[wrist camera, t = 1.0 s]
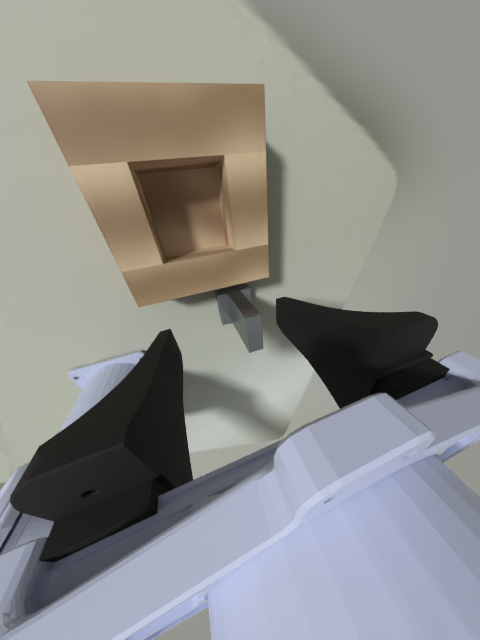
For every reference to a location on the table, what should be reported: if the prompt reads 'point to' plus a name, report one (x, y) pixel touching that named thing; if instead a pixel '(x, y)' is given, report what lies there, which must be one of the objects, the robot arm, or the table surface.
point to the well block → (169, 178)
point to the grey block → (241, 315)
